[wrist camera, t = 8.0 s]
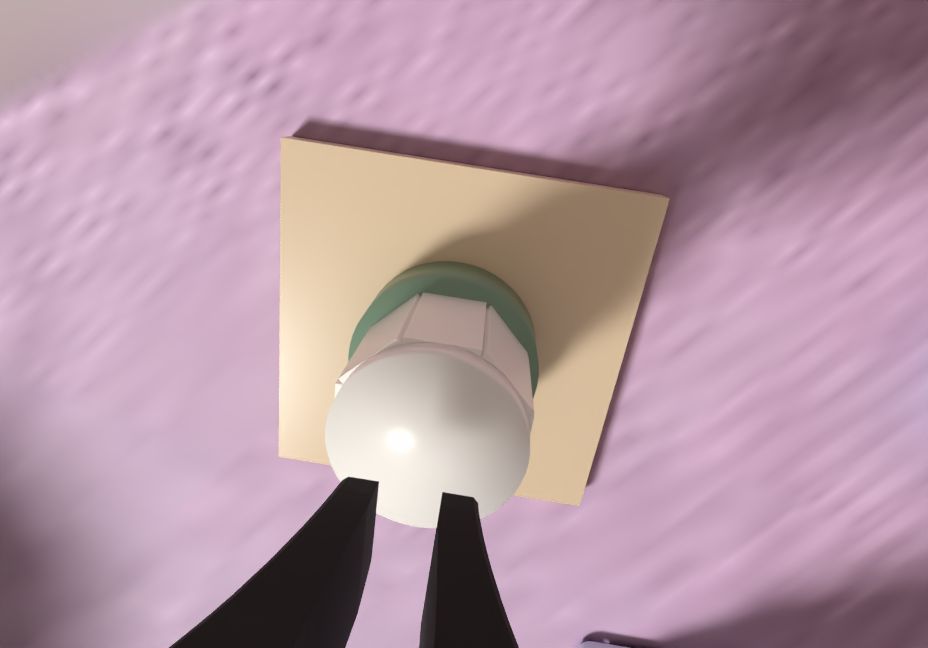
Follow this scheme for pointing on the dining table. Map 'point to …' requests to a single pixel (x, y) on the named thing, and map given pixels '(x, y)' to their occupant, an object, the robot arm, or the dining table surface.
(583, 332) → the beige square tray
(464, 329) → the cap
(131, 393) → the dining table surface
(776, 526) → the dining table surface
